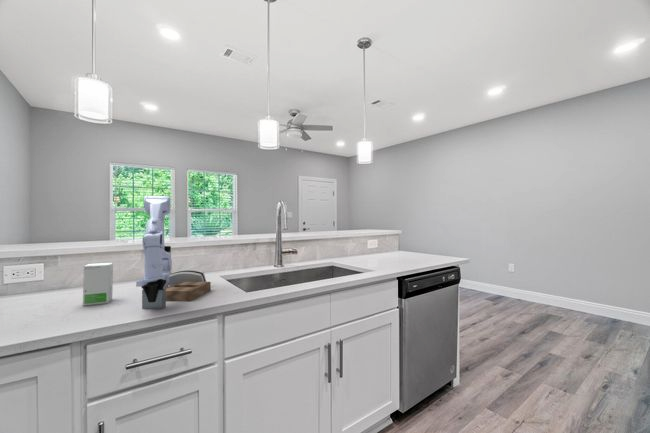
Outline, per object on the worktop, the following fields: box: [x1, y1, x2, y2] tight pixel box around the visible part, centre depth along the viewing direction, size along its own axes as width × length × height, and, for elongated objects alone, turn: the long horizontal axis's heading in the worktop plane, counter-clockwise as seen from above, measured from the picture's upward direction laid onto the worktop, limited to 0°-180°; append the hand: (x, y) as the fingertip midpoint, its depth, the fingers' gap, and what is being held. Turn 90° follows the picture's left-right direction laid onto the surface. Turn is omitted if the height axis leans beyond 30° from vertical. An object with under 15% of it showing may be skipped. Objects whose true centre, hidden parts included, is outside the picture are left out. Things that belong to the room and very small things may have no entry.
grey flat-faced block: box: [141, 289, 167, 310], centre depth 102 cm, size 8×2×7 cm, turn 84°
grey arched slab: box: [169, 269, 208, 286], centre depth 131 cm, size 17×5×10 cm, turn 95°
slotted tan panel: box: [164, 281, 212, 302], centre depth 118 cm, size 14×16×4 cm
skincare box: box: [82, 262, 114, 307], centre depth 109 cm, size 8×7×16 cm
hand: (154, 300), depth 102 cm, fingers closed on grey flat-faced block, 2 cm apart
